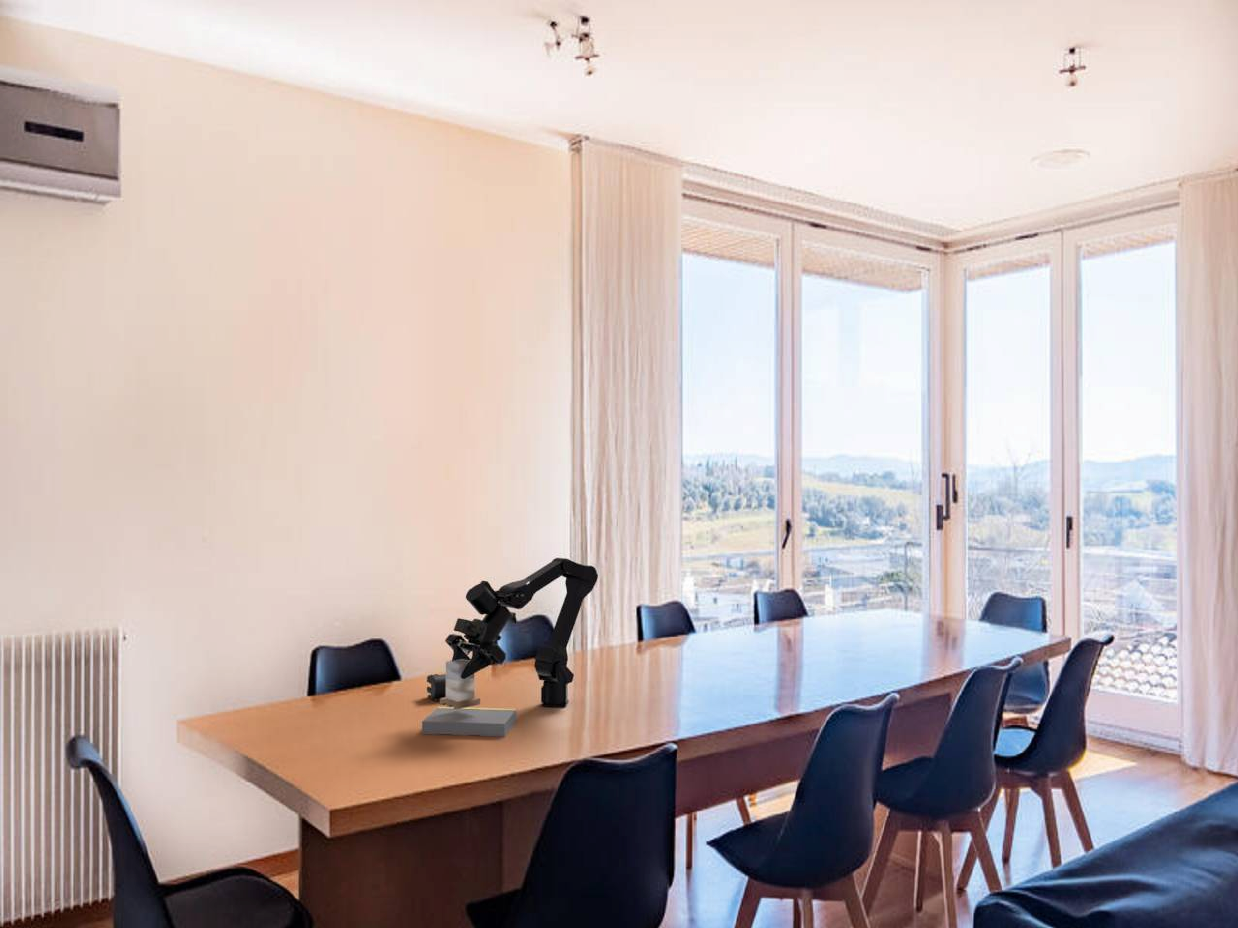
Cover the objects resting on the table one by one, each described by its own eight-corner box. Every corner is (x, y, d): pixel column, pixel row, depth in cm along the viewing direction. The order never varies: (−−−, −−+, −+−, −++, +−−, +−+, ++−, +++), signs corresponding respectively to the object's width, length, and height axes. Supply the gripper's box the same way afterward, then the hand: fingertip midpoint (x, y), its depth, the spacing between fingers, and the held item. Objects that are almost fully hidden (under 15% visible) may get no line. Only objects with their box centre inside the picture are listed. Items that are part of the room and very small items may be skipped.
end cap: (435, 702, 253) (435, 677, 253) (425, 697, 259) (425, 673, 259) (469, 698, 258) (469, 673, 258) (458, 693, 264) (458, 669, 264)
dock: (516, 721, 234) (516, 708, 234) (504, 736, 220) (504, 723, 220) (438, 718, 236) (438, 706, 236) (422, 733, 222) (422, 720, 222)
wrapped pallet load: (463, 699, 234) (463, 657, 234) (480, 704, 229) (480, 661, 229) (439, 704, 229) (440, 661, 229) (456, 709, 224) (456, 665, 224)
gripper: (451, 602, 239) (414, 651, 231) (496, 609, 226) (459, 661, 218) (476, 629, 244) (440, 678, 236) (521, 638, 231) (486, 690, 223)
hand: (455, 676), depth 228 cm, fingers closed on wrapped pallet load, 5 cm apart
